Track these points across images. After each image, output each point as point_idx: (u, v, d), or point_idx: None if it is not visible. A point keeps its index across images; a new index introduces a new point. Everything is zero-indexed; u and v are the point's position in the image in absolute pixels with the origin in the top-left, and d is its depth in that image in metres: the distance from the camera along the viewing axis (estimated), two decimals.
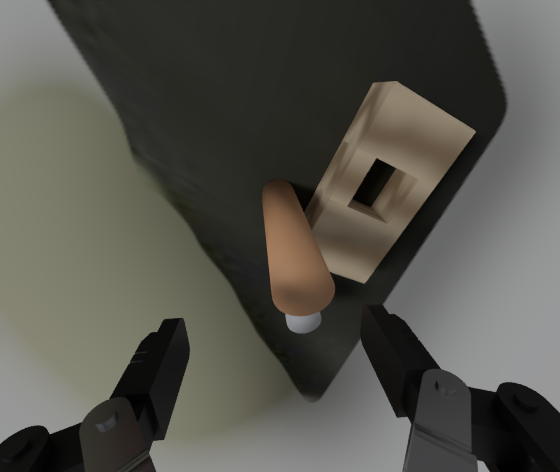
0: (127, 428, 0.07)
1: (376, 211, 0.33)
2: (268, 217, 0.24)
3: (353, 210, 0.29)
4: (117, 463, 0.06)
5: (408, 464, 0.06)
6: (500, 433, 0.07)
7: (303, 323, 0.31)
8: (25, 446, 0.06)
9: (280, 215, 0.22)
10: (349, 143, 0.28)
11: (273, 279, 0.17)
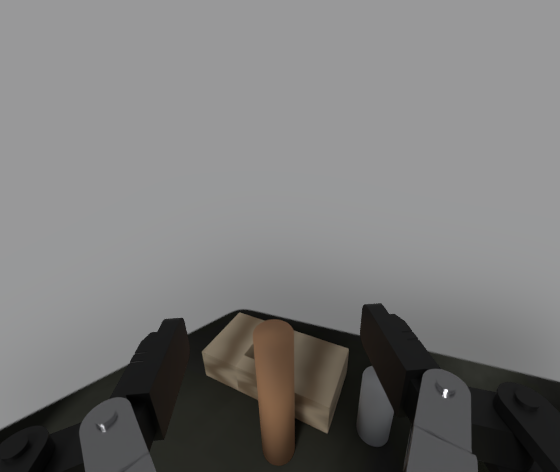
0: (127, 428, 0.07)
1: None
2: (265, 413, 0.28)
3: None
4: (117, 463, 0.06)
5: (408, 464, 0.06)
6: (500, 433, 0.07)
7: None
8: (25, 446, 0.06)
9: None
10: (236, 379, 0.39)
11: (264, 353, 0.24)
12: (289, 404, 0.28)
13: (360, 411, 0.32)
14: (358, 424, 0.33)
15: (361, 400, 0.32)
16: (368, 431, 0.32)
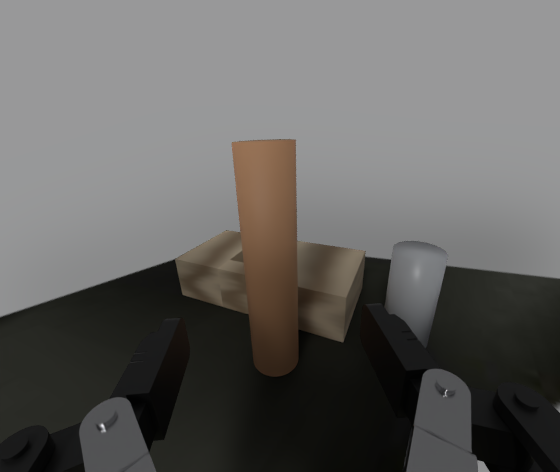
0: (127, 428, 0.07)
1: None
2: (254, 281, 0.19)
3: None
4: (117, 463, 0.06)
5: (408, 464, 0.06)
6: (500, 433, 0.07)
7: (425, 251, 0.22)
8: (25, 446, 0.06)
9: (243, 256, 0.19)
10: (220, 289, 0.30)
11: (249, 154, 0.15)
12: (290, 267, 0.19)
13: (389, 304, 0.23)
14: None
15: (391, 285, 0.23)
16: None
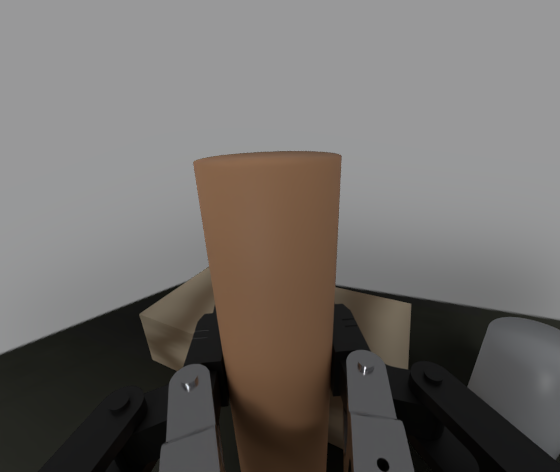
0: (211, 388, 0.08)
1: None
2: (248, 435, 0.09)
3: None
4: (190, 424, 0.07)
5: (353, 454, 0.06)
6: (409, 405, 0.08)
7: (552, 347, 0.12)
8: (127, 401, 0.07)
9: None
10: None
11: (231, 195, 0.06)
12: (321, 407, 0.09)
13: None
14: None
15: (485, 399, 0.13)
16: None
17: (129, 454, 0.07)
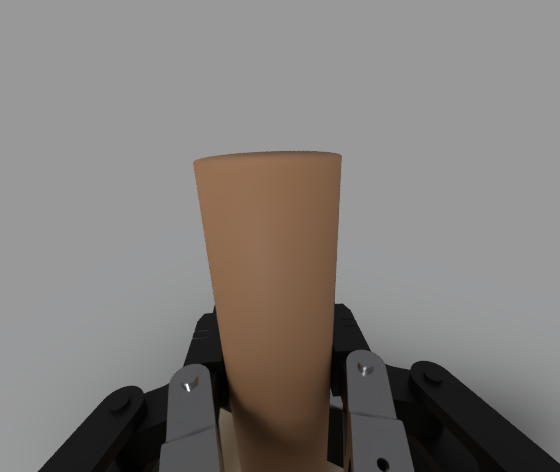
0: (211, 388, 0.08)
1: None
2: (248, 435, 0.09)
3: None
4: (190, 424, 0.07)
5: (353, 454, 0.06)
6: (409, 405, 0.08)
7: None
8: (127, 401, 0.07)
9: None
10: None
11: (232, 195, 0.06)
12: (321, 407, 0.09)
13: None
14: None
15: None
16: None
17: (129, 454, 0.07)
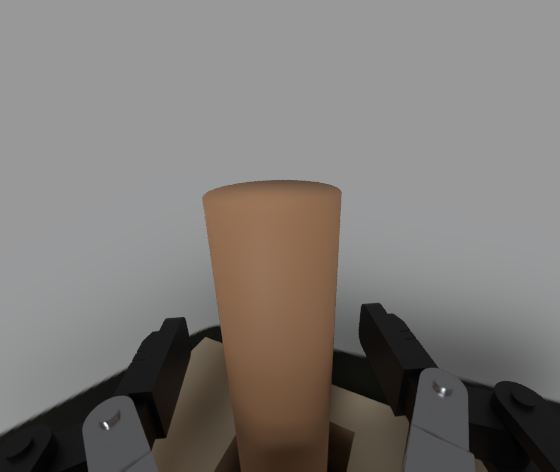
0: (130, 426, 0.07)
1: None
2: (251, 452, 0.10)
3: None
4: (119, 461, 0.06)
5: (406, 463, 0.06)
6: (497, 432, 0.07)
7: None
8: (29, 444, 0.06)
9: None
10: None
11: (239, 234, 0.06)
12: (321, 425, 0.10)
13: None
14: None
15: None
16: None
17: None
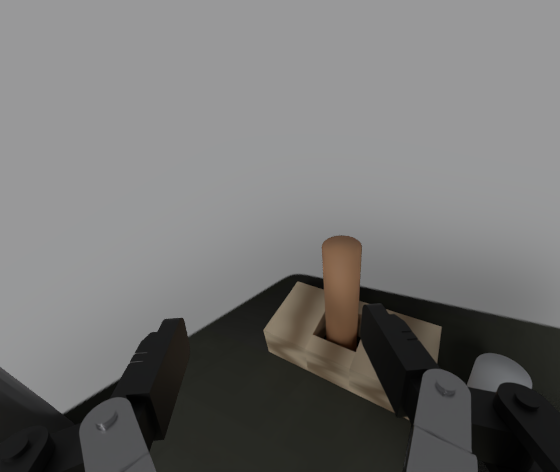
0: (127, 428, 0.07)
1: None
2: (333, 318, 0.31)
3: (359, 346, 0.32)
4: (117, 463, 0.06)
5: (408, 464, 0.06)
6: (500, 433, 0.07)
7: (506, 372, 0.24)
8: (25, 446, 0.06)
9: (325, 303, 0.31)
10: (306, 360, 0.34)
11: (335, 263, 0.26)
12: (355, 310, 0.31)
13: None
14: None
15: None
16: None
17: None
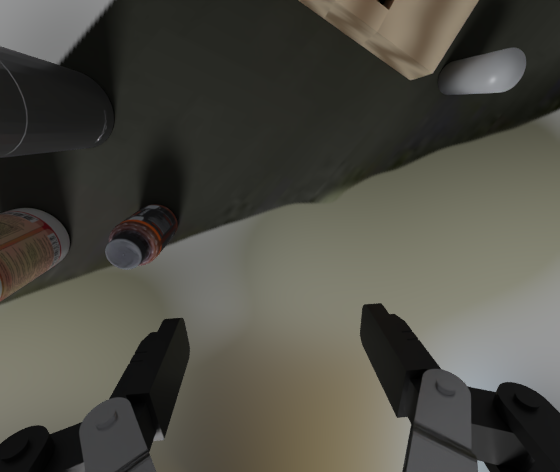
0: (127, 428, 0.07)
1: None
2: None
3: (395, 1, 0.28)
4: (117, 463, 0.06)
5: (408, 464, 0.06)
6: (500, 433, 0.07)
7: (510, 69, 0.28)
8: (25, 446, 0.06)
9: None
10: (328, 10, 0.30)
11: None
12: None
13: (457, 86, 0.33)
14: (445, 87, 0.35)
15: (467, 85, 0.31)
16: (456, 94, 0.35)
17: None
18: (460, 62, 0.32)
